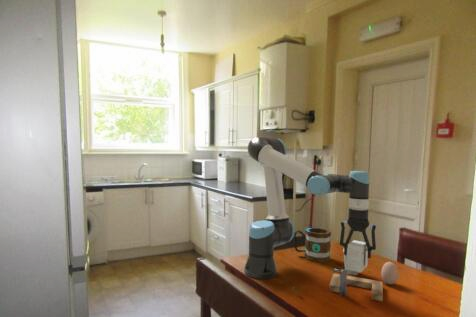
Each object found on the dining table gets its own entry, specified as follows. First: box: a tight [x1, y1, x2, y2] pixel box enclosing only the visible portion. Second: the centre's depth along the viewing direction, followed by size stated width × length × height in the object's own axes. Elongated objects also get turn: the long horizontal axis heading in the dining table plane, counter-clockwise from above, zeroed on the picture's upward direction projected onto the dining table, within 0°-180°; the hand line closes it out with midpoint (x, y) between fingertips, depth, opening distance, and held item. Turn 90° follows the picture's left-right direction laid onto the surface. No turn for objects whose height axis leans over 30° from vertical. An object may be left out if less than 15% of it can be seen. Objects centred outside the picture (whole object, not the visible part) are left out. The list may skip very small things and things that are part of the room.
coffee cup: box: [342, 248, 359, 276], centre depth 149 cm, size 8×8×12 cm
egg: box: [380, 261, 399, 286], centre depth 137 cm, size 7×7×10 cm
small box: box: [347, 239, 367, 273], centre depth 129 cm, size 8×6×10 cm
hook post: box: [332, 268, 348, 298], centre depth 126 cm, size 5×2×10 cm, turn 66°
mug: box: [293, 227, 332, 263], centre depth 170 cm, size 20×14×15 cm
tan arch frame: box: [328, 272, 384, 302], centre depth 131 cm, size 20×14×2 cm
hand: (356, 264), depth 129 cm, fingers closed on small box, 6 cm apart
